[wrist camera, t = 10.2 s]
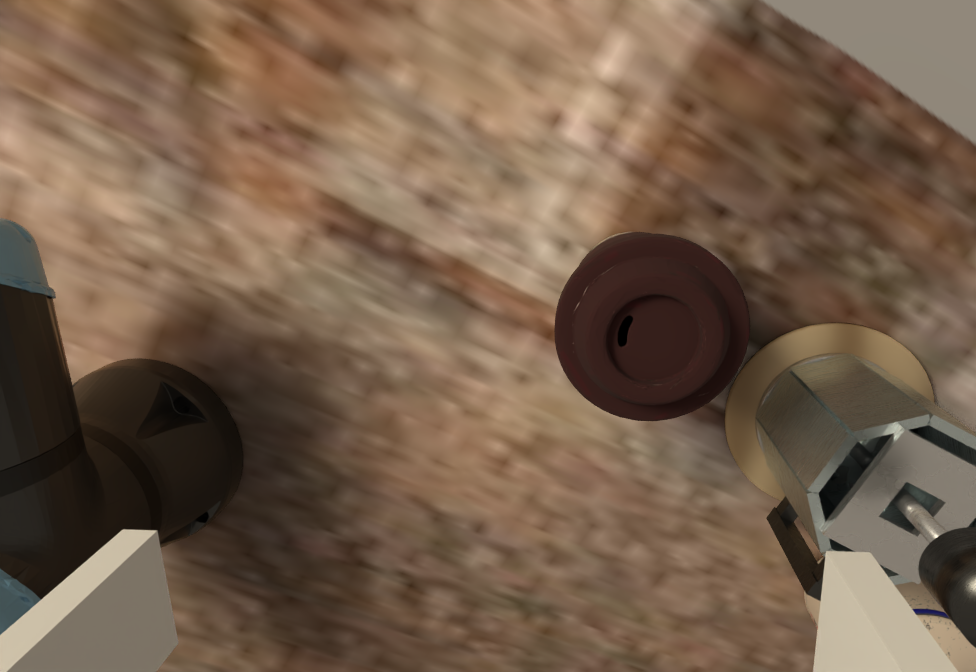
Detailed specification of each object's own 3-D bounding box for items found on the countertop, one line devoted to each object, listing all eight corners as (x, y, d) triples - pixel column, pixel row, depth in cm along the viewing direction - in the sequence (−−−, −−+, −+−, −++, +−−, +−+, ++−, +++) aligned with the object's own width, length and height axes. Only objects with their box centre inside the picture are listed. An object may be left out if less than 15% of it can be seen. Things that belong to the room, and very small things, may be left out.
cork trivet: (719, 502, 52) (721, 506, 51) (729, 323, 48) (731, 325, 47) (917, 506, 50) (921, 511, 50) (943, 321, 46) (948, 323, 46)
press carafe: (706, 475, 51) (748, 576, 39) (807, 327, 47) (888, 389, 35) (824, 536, 51) (901, 656, 39) (934, 394, 47) (1057, 478, 35)
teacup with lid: (777, 612, 54) (832, 735, 43) (835, 518, 51) (909, 623, 40) (920, 669, 54) (1012, 807, 43) (985, 578, 51) (1102, 699, 40)
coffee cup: (731, 285, 47) (802, 347, 33) (623, 377, 50) (644, 470, 36) (635, 180, 46) (665, 197, 32) (529, 279, 49) (512, 336, 35)
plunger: (760, 453, 47) (876, 641, 29) (825, 361, 45) (993, 503, 27) (856, 503, 47) (1030, 720, 30) (926, 414, 45) (1159, 590, 27)
